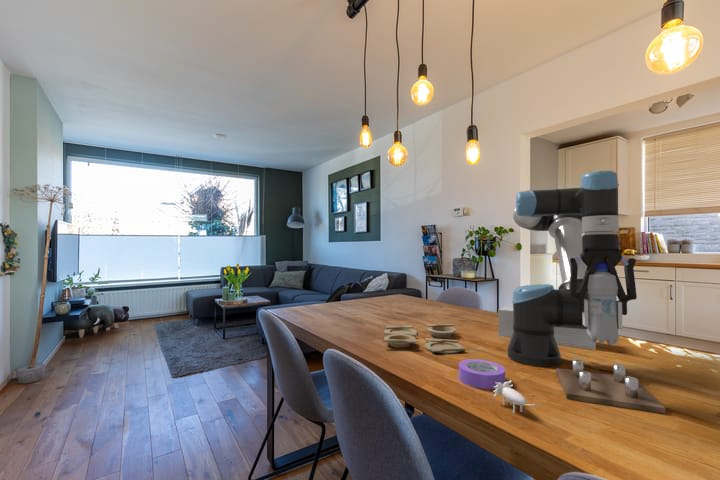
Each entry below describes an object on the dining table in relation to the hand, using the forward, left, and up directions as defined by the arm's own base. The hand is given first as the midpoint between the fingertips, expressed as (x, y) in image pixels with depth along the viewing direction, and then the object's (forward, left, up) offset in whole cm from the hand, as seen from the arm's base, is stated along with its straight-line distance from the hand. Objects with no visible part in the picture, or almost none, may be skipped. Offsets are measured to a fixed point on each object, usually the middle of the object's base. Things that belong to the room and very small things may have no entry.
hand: (601, 326), depth 83 cm
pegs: (0, 0, -15) cm, 15 cm away
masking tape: (-28, -5, -16) cm, 33 cm away
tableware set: (-52, +27, -16) cm, 61 cm away
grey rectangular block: (-8, +48, -16) cm, 51 cm away
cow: (-20, -20, -16) cm, 32 cm away
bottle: (0, 0, -4) cm, 4 cm away
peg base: (0, 0, -16) cm, 16 cm away
